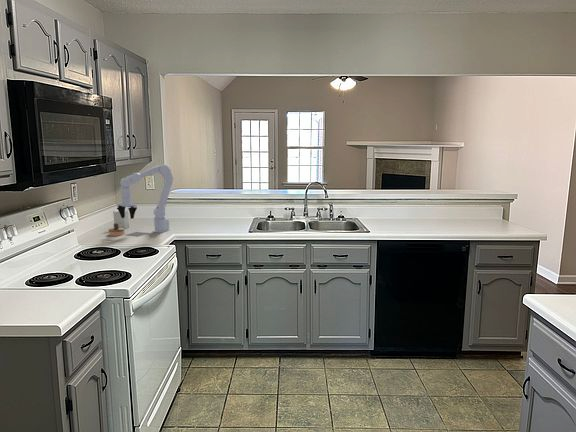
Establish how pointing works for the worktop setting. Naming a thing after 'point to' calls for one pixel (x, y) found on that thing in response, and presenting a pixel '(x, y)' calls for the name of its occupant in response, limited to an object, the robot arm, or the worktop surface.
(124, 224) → the supplement box
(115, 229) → the lid
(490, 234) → the worktop surface
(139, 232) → the mat
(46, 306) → the worktop surface
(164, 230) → the robot arm
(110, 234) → the bowl
